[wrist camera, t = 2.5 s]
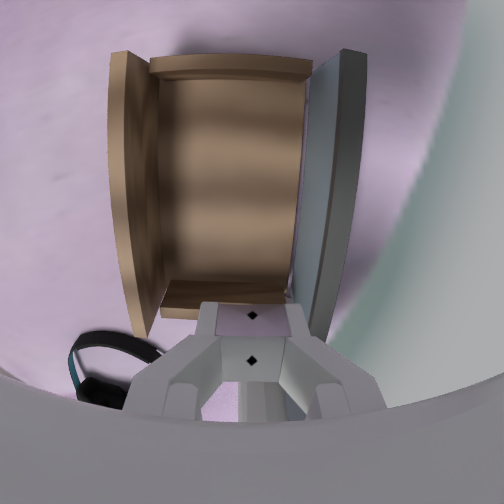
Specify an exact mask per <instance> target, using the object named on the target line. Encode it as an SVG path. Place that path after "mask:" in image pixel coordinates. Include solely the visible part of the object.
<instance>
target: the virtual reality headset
mask: <svg viewBox="0 0 504 504" xmlns="http://www.w3.org/2000/svg"><path fill="white" fill-rule="evenodd" d="M95 346H101V347H109V348H113V349H117V350H120V351H123V352H125V353H128V354H130V355H132V356H134V357H136V358H138V359H140V360H142V361H144V362H146V363H148V364H149V363H153V362H154V361H155V360H157V359H158V358H159V357H161V356H162V355H161V354H160V353H159V352H157V351H156V349H157V348H155V347H153V346H151V345H150V344H148V343H146V342H144V341H141V340H139V339H137V338H134V337H131V336H128V335H125V334H121V333H116V332H109V331H93V332H89V333H85V334H82V335H80V336H79V338H78V340H77V341H76V342H75V343H74V345H73V346H72V348H71V350H70V354H69V358H68V366H69V371H70V375H71V378H72V381H73V384H74V386H75V389H76V395H77V399H78V401H82V402H86V403H90V404H94V405H99V406H103V407H108V408H112V409H117V410H122V409H123V406H124V403H125V400H126V397H127V393H125V392H124V390H122V388H120V387H118V386H115V385H111V384H108V383H104V382H101V381H99V380H97V379H95V378H92V377H89V378H87V379H85V380H84V381H83V382H82V383H80V381H79V378H78V375H77V372H76V369H75V365H74V361H73V351H74V350H76V349H77V350H80V349H83V348H87V347H95Z"/></svg>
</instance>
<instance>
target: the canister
mask: <svg viewBox="0 0 504 504" xmlns="http://www.w3.org/2000/svg"><path fill="white" fill-rule="evenodd" d="M285 298H286V302H287V304H293V302H292V299H291V298H288V297H285ZM305 418H306V413H305V412H304V411H303V410H302V409H301V408H300V407H299V406H298V405H297V403H296V402H295V401H294V400H293V399H292V398H291V397H290V395H289V394H288V393H287V392H286V391H285V390H284V389H283V387H282V386H281V385H280V384H279V382H252V381H251V380H250V381H245V382H238V422H285V421H302V420H305Z"/></svg>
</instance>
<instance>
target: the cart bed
mask: <svg viewBox="0 0 504 504" xmlns="http://www.w3.org/2000/svg"><path fill="white" fill-rule="evenodd" d="M312 62H313V60H306V59H299V58H290V57H281V56H269V55H253V54H191V55H175V56H164V57H154V58H150V63H148V62H147V61H145V60H143V59H142V58H140V57H138V56H137V55H135V54H133V53H131V52H130V51H128V50H127V51H121V52H116V53H111V60H110V72H109V88H108V123H107V131H108V167H109V183H110V196H111V207H112V217H113V225H114V233H115V241H116V248H117V254H118V261H119V267H120V273H121V278H122V284H123V289H124V294H125V299H126V303H127V308H128V313H129V317H130V321H131V326H132V330H133V334H134V337H140V338H147V337H148V335H149V332H150V329H151V327H152V324H153V322H154V319H155V316H156V314H157V311H158V309H159V306H160V313H161V318H172V319H188V320H198V316H199V311H200V307H201V303H202V302H218V303H219V302H224V303H245V304H287V302H286V298H285V294H284V293H287V285H288V277H289V269H290V261H291V252H292V243H293V234H294V225H295V215H296V205H297V195H298V184H299V172H300V160H301V148H302V134H303V120H304V104H305V86H306V79H307V78H309V77H310V76H312ZM166 289H167V290H166ZM165 291H166V293H165ZM164 294H165V295H164ZM163 296H164V298H163ZM162 299H163V300H162ZM161 301H162V303H161ZM160 304H161V305H160Z"/></svg>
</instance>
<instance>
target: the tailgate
mask: <svg viewBox="0 0 504 504" xmlns="http://www.w3.org/2000/svg"><path fill="white" fill-rule="evenodd" d="M366 85H367V54H366V53H362V52H358V51H353V50H349V49H342V50H341V51H340V53H339V54H338V55H336V56H335V57H333V58H332V59H330V60H329V61H328V62H326V63H325V64H323V65H322V66H320V67H319V68H317V69H316V70H315V71H313V72H312V76H310V95H309V112H308V127H307V140H306V153H305V165H304V176H303V187H302V197H301V207H300V217H299V226H298V235H297V243H296V252H295V260H294V268H293V276H292V283H291V291H290V294H291V298H292V302H293V304H295V303H299V304H301V306H302V309H303V312H304V315H305V318H306V322H307V325H308V328H309V331H310V335H311V336H316V337H317V338H319V339H320V340H322V341H323V342H324V343H325V342H326V339H327V335H328V331H329V327H330V323H331V319H332V315H333V311H334V307H335V303H336V299H337V295H338V290H339V286H340V281H341V276H342V272H343V267H344V262H345V257H346V252H347V247H348V241H349V236H350V230H351V224H352V218H353V212H354V206H355V199H356V192H357V185H358V177H359V169H360V161H361V152H362V142H363V131H364V119H365V104H366Z"/></svg>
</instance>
